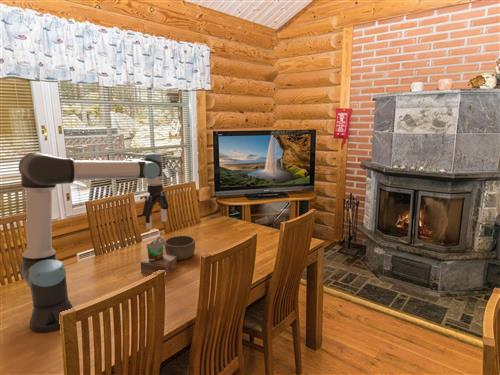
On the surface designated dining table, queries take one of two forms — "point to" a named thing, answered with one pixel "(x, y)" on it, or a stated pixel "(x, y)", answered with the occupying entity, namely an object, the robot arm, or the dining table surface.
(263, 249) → the dining table surface
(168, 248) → the bowl
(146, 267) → the walnut block
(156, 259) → the food container
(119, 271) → the dining table surface
